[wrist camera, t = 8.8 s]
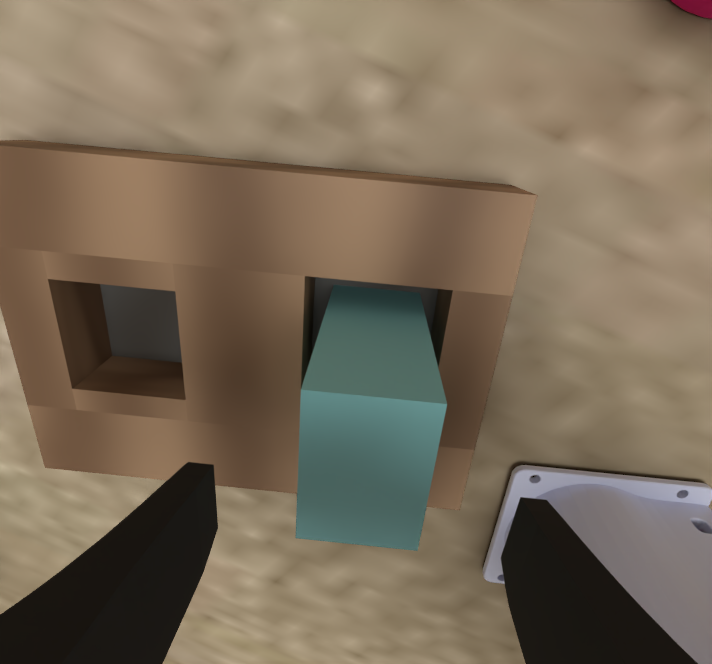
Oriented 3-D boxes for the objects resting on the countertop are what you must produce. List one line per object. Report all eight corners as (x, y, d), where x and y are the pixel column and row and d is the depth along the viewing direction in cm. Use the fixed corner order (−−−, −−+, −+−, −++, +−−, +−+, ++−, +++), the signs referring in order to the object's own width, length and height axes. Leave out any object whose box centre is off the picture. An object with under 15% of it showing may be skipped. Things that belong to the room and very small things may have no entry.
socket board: (510, 184, 16) (537, 195, 13) (449, 462, 21) (459, 509, 19) (26, 140, 16) (-46, 141, 13) (87, 425, 22) (45, 467, 19)
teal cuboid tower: (419, 292, 18) (447, 404, 10) (403, 396, 20) (417, 550, 12) (333, 284, 18) (300, 389, 10) (327, 389, 20) (295, 538, 12)
